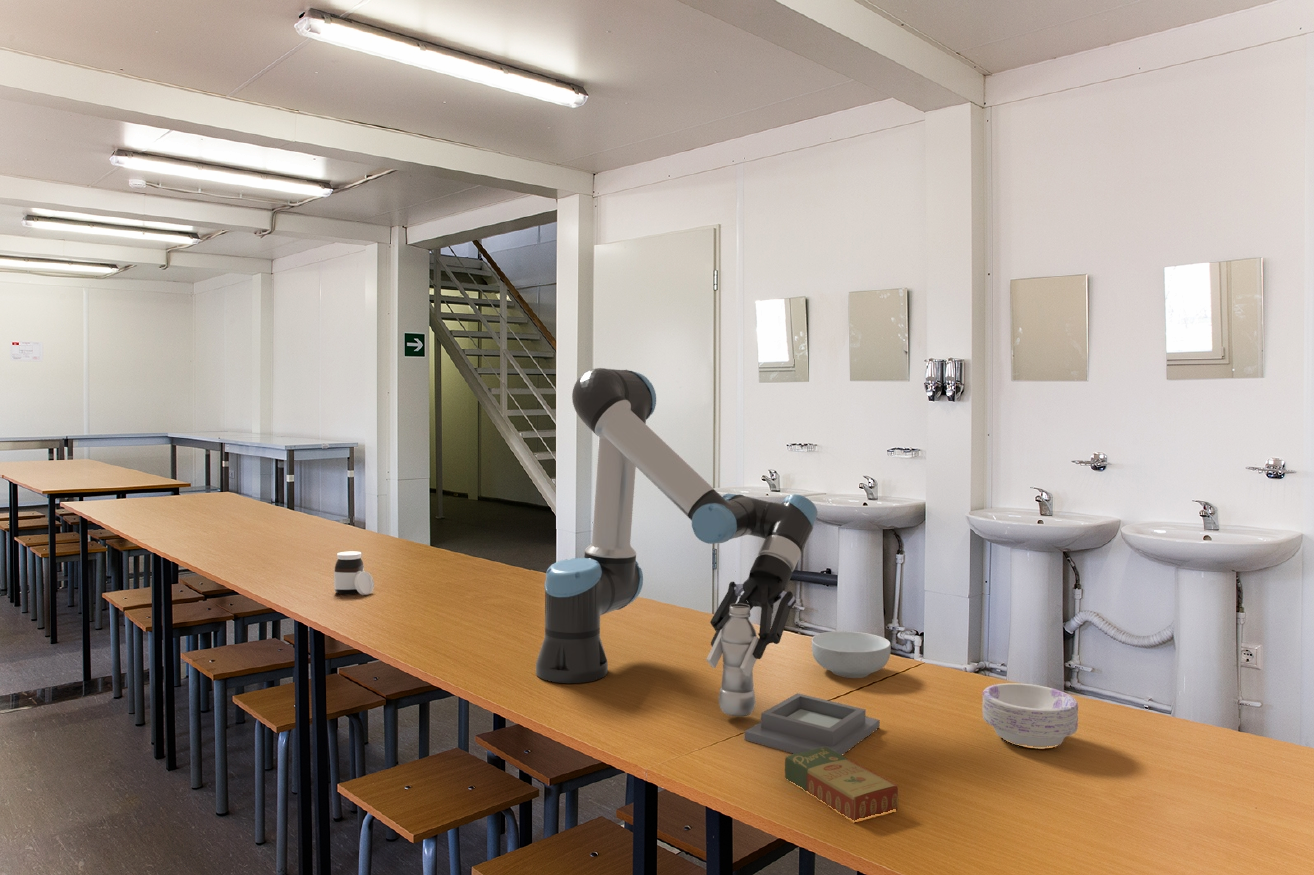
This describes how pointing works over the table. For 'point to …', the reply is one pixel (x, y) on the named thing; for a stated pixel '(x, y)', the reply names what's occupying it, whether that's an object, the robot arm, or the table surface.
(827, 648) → the cereal bowl
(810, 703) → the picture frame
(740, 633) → the plastic bottle
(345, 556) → the spread jar
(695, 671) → the table surface
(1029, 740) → the paper bowls
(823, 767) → the carton
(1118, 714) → the table surface
